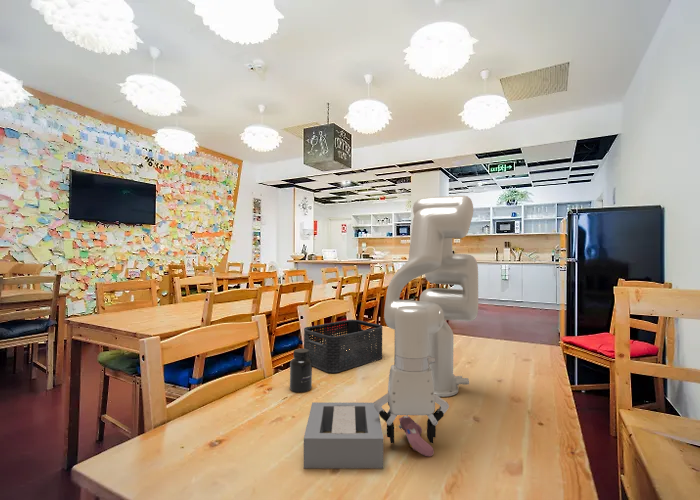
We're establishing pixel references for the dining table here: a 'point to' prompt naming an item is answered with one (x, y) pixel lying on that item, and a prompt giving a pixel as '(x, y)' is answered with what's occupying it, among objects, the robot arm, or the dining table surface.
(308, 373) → the supplement bottle
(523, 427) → the dining table surface
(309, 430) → the grey square box
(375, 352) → the storage bin
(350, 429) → the beige insert in tray
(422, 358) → the robot arm
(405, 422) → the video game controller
